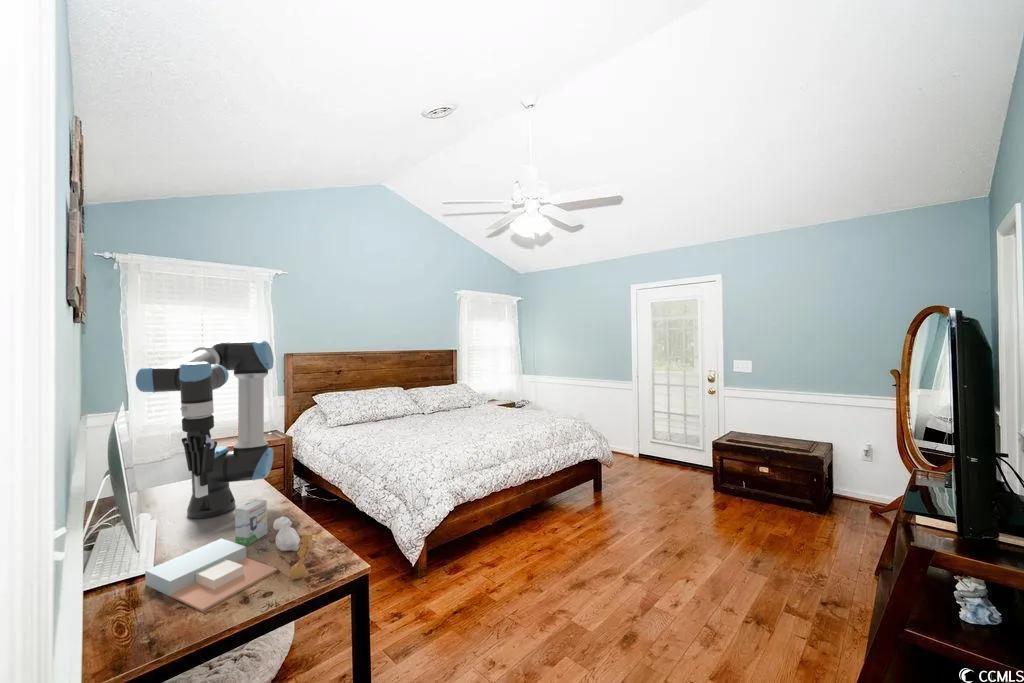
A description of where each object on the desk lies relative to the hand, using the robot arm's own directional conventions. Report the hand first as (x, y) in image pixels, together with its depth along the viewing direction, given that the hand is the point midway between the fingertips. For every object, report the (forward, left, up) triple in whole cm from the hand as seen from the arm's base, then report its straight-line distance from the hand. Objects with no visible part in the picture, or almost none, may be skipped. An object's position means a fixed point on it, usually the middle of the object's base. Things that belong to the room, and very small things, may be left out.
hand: (201, 495), depth 129 cm
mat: (+3, +15, -21) cm, 26 cm away
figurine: (-8, +31, -21) cm, 38 cm away
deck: (+3, +2, -21) cm, 21 cm away
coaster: (+3, +13, -20) cm, 24 cm away
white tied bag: (-17, +13, -21) cm, 30 cm away
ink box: (-16, -3, -21) cm, 27 cm away
